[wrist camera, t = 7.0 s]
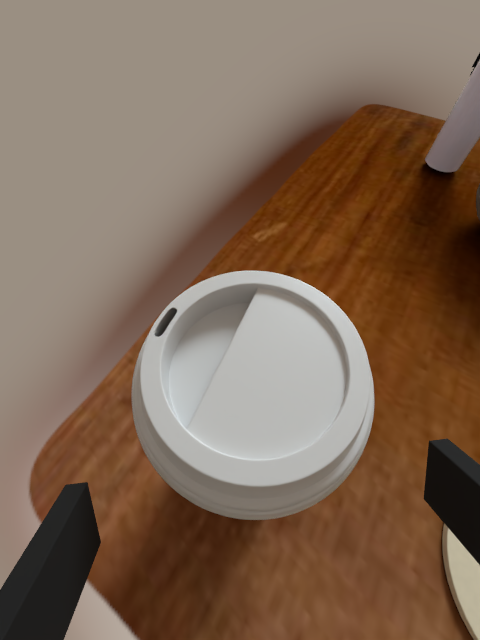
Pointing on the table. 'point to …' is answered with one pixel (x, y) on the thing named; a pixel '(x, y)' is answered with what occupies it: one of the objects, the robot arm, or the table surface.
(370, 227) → the table surface
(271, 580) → the table surface
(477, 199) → the bowl
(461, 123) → the perfume bottle
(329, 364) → the coffee cup
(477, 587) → the cream mat
